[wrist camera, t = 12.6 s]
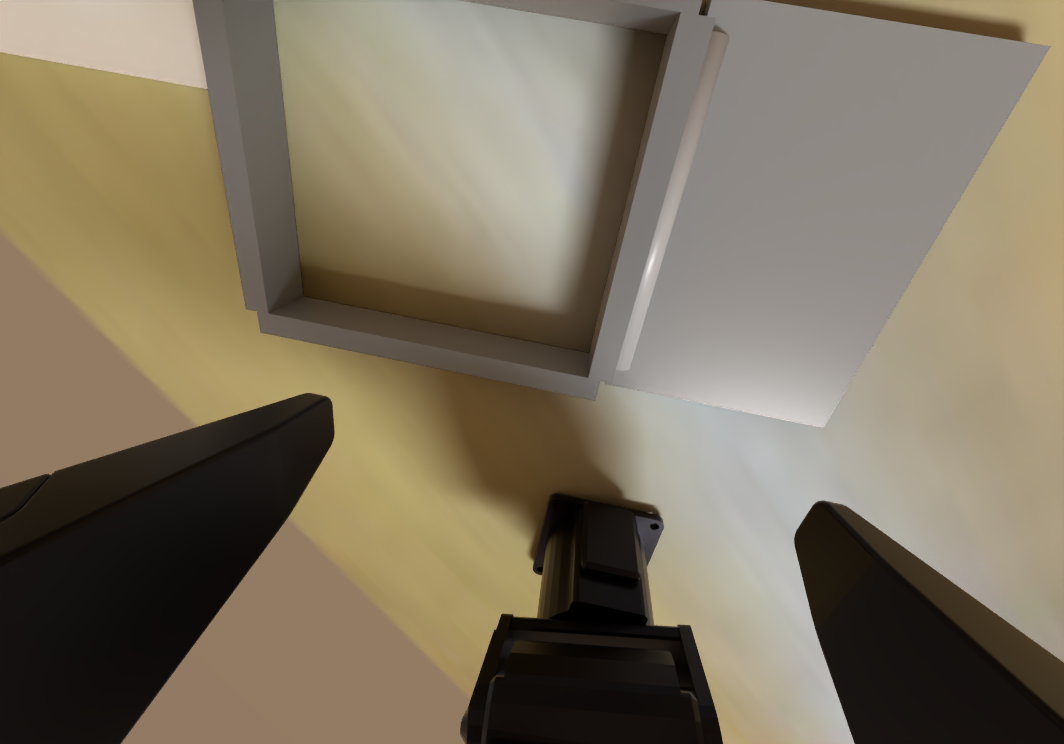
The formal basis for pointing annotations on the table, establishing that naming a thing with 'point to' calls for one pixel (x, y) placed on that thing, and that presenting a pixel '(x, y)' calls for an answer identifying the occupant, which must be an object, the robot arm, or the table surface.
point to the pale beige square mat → (108, 36)
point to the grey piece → (686, 199)
